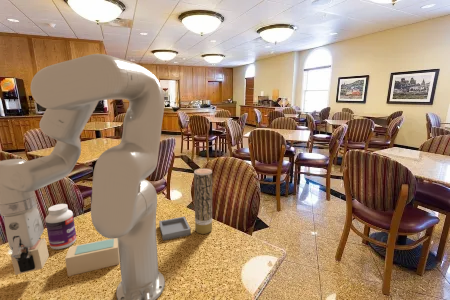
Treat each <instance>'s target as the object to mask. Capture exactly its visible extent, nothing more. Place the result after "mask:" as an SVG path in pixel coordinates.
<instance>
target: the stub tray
mask: <svg viewBox="0 0 450 300" xmlns="http://www.w3.org/2000/svg"><path fill="white" fill-rule="evenodd" d="M158 224H159V225H158V226H159V229H160V230H159V231H160V234H161V238H162V241H167V240H172V239H177V238H181V237H186V236H191V235H192V230H191V229H192V228H191V226H190V225H189V222H188V221H187V218H186V217H185V216H180V217H174V218H170V219H164V220H159V222H158Z"/></svg>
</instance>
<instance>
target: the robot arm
mask: <svg viewBox="0 0 450 300" xmlns="http://www.w3.org/2000/svg"><path fill="white" fill-rule="evenodd" d="M30 93H31V96H32V98H33V99H34V101H35V102H36V103H37V105H39V106H40V107H42V108H45V111H44V113H43V115H42V117H41V119H40V121H39V128H40V131H41V132H42V133H43V134H44V135H46V136H48V137H49V138H51V139H53V140H56V143H55V145H54V147H53V149H52V151H51V153H50V154H49V155H45V156H41V157H38V158H34V159H31V160H25V159H22V158H10V159H3V160H0V216H3V218H4V219H3V220H4V227H5V234H6V239H7V243H8V247H9V248H10V251H11V252H12V253H11V254H12V257H14V258H15V259H16V261H18V265H19V269H20V272H25V271H29V270H33V269H35V264H34V259H33V255H32V256H31V253H30V247H33V246H34V245H35V244H36V242H37V241H38V239H42V238H41V236H42V235H43V233H44V229H45V228H44V224H43V221H42V217H41V214H40V211H39V208H38V202H37V197H36V193H35V191H38V190H40V189H42V188H44V187H46V186H49V185H51V184H54V183H55V182H58V181H61V180H63V179H64V178H66V177H67V176H69V174H71V173H72V171H73V169H74V168H75V166H76V165H77V163H78V160H80V157H81V154H82V142H81V138H80V136H81V134H82V133H83V131H84V129H85V127H86V126H87V124H88V122H89V120H90V118H91V116H92V115H93V112H94V111H95V109H96V107H97V106H98V103H99V102H100V101H106V100H126V101H128V103H129V104H128V108H127V110H126V112H125V115H124V118H123V123H122V126H123V127H122V135H121V140H120V143H119V144H117V145H114V146H112V147H109V148H107V149H106V150H104V151H103V152H102V153H101V154H100V155H99V157H98V158H97V159H96V162H95V165H94V169H93V174H92V175H93V176H92V188H91V201H90V202H91V205H90V217H91V223H92V225H93V227H94V229H95V230H96V231H97V233H98V234H99V235H100V236H102V237H104V238H106V239H111V238H112V239H113V238H118V249H119V259H120V262H119V268H120V269H119V270H120V276H121V277H120V278H121V281H120V282H119V283H118V286H117V288H116V293H115V294H116V300H157V299H158V298H159V297H160V295H161V294H163V291H164V289H165V285H166V281H165V277H164V275H163V274H162V273H161V272H160V271H159V263H158V262H159V260H158V259H159V258H158V245H157V223H156V222H157V210H158V209H157V207H158V195H157V191H156V188H155V187H154V185H153V183H151V182H150V181H149V180H147V178H148V177H149V176H150V175H151V174H153V172H155V170H156V168H157V166H158V160H159V153H160V145H161V144H160V143H161V136H162V127H163V126H162V124H163V118H164V114H165V113H164V111H165V93H164V90H163V86H162V85H161V82H160V81H159V80H158V78H157V76H155V75H154V74H153V73H152V72H151V71H150V70H148V69H147V68H145V67H144V66H142V65H140V64H138V63H136V62H132V61H129V60H126V59H123V58H119V57H117V56H113V55H110V54H106V53H93V54H88V55H84V56H79V57H77V58H73V59H69V60H66V61H62V62H58V63H55V64H51V65H48V66H46V67H43V68H41V69H39V70H38V71H37V72H36V73H35V75H34V76H33V77H32V80H31V83H30ZM21 245H25V246H24V247H21ZM23 249H26V253H25V252H21V250H23Z"/></svg>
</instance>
